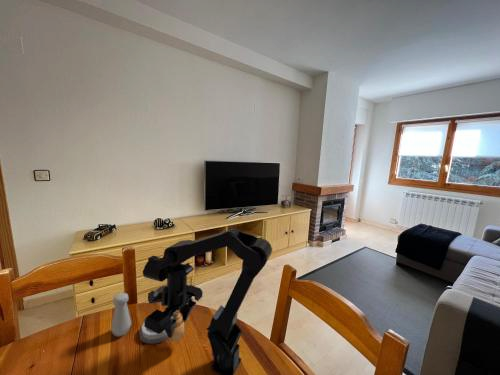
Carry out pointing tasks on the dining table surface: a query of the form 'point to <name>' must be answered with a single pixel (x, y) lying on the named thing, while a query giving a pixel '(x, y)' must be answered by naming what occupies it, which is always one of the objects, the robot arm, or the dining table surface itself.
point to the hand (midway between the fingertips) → (176, 331)
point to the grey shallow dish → (152, 336)
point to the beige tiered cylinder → (178, 327)
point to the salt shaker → (120, 315)
